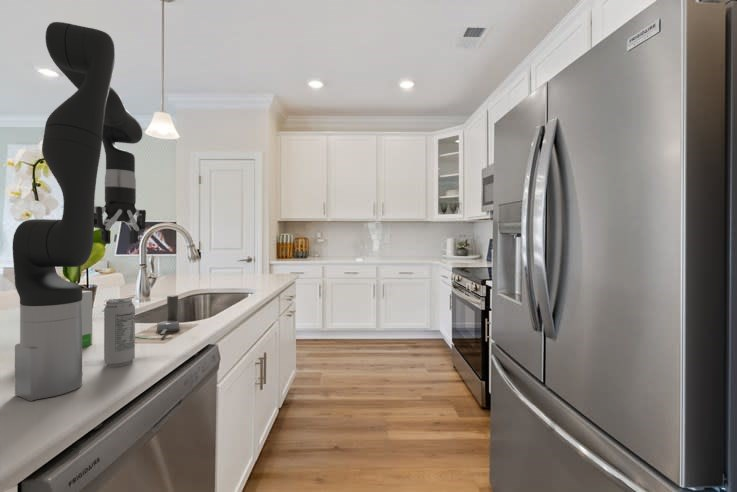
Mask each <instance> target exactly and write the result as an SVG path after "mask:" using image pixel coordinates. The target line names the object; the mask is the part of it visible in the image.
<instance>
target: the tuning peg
mask: <svg viewBox="0 0 737 492" xmlns="http://www.w3.org/2000/svg"><path fill="white" fill-rule="evenodd" d="M166 299H167V300H166V320H164V321H160V322H158V323H156V325H157V331H158V332H161V334H160V335H165V333H166V332H171V331H176V330H178V329H179V324H180V321H179V295H168V296H167V297H166Z"/></svg>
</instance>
